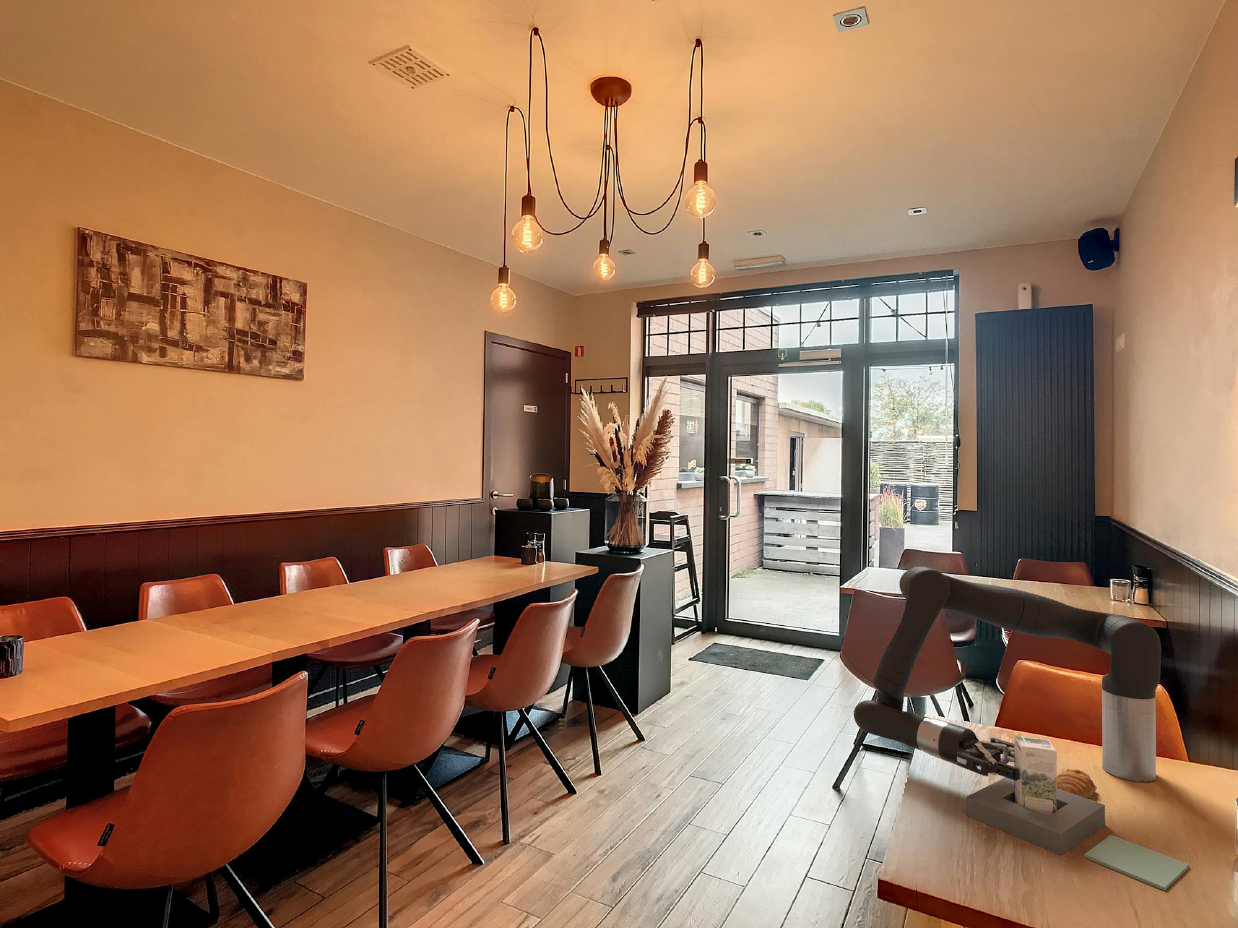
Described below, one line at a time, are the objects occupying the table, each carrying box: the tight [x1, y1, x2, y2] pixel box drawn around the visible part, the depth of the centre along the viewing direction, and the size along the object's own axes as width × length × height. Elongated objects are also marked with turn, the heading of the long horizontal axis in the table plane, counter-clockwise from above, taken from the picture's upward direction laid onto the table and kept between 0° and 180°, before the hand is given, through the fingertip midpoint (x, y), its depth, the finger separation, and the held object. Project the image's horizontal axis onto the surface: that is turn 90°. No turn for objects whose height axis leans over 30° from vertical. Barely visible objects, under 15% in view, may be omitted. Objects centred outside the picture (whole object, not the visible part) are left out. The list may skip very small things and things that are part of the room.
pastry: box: [1056, 768, 1097, 799], centre depth 137 cm, size 9×7×4 cm
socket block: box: [966, 777, 1106, 856], centre depth 126 cm, size 18×16×4 cm
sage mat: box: [1083, 834, 1190, 891], centre depth 112 cm, size 11×11×1 cm
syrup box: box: [1013, 735, 1058, 816], centre depth 126 cm, size 6×6×14 cm
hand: (1030, 769), depth 127 cm, fingers open, 8 cm apart
